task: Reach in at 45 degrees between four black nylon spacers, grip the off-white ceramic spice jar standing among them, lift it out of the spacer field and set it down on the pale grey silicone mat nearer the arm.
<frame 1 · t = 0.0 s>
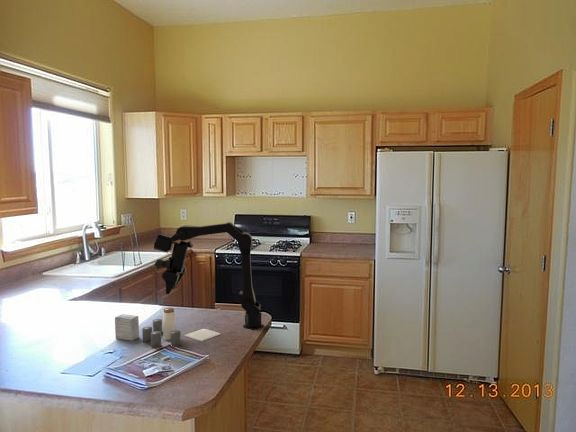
hand: (170, 291, 174), 15 cm above the counter, tool pointing down, fingers open, 9 cm apart
jar: (169, 338, 163), on the counter
spacer d: (175, 345, 156), on the counter
spacer b: (156, 345, 155), on the counter
mat: (202, 335, 166), on the counter
medicine box: (127, 338, 163), on the counter
spacer c: (157, 332, 169), on the counter
spacer a: (147, 340, 160), on the counter
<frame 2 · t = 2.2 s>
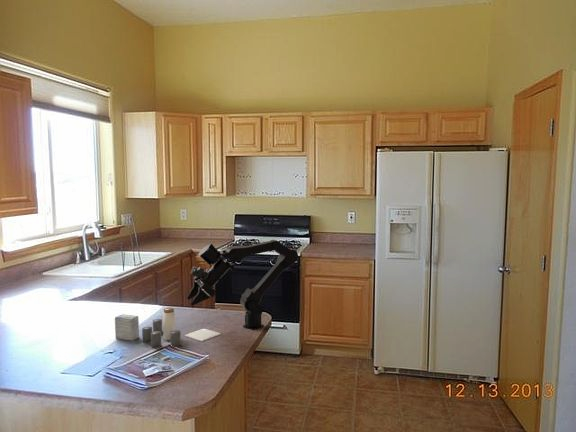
hand: (189, 301, 165), 13 cm above the counter, tool tilted 45°, fingers open, 9 cm apart
nothing on the counter moved.
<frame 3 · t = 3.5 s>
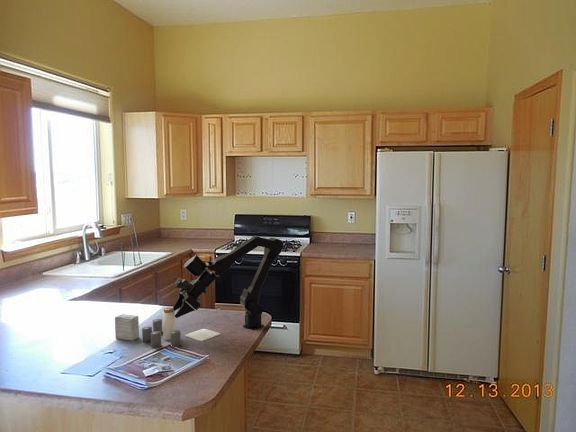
hand: (173, 313, 163), 9 cm above the counter, tool tilted 45°, fingers open, 9 cm apart
nothing on the counter moved.
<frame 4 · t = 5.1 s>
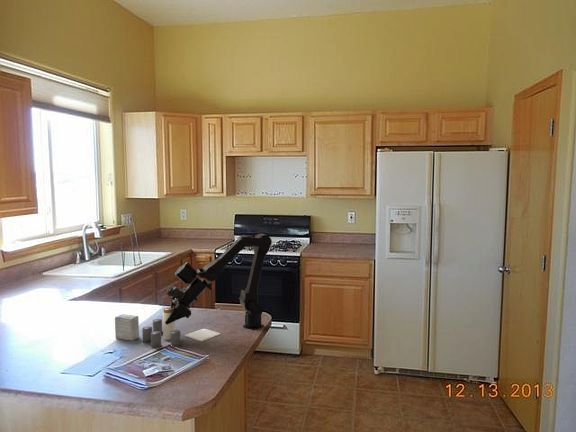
hand: (165, 321, 162), 7 cm above the counter, tool tilted 45°, fingers closed on jar, 4 cm apart
jar: (169, 337, 163), on the counter, touching gripper
everything else where it was.
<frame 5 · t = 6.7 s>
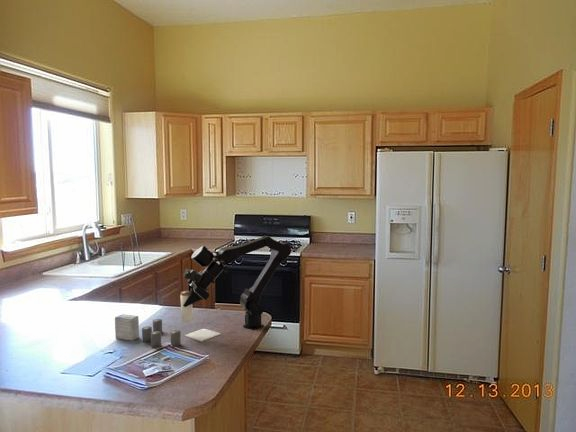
hand: (183, 304, 163), 13 cm above the counter, tool tilted 45°, fingers closed on jar, 4 cm apart
jar: (187, 320, 164), point 6 cm above the counter, touching gripper
everything else where it was.
when the fingers open (8 cm above the counter, at t = 8.5 s): jar drops 1 cm, resting on mat.
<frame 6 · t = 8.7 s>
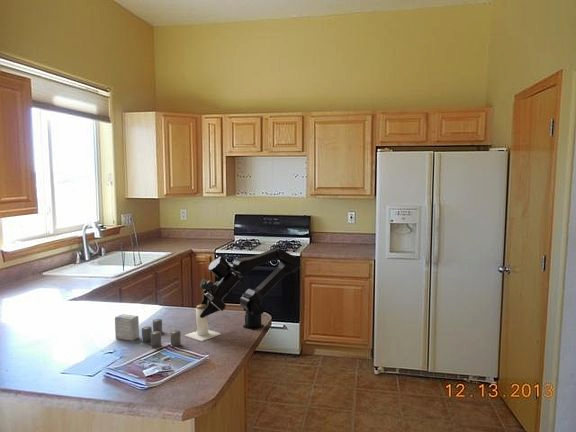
hand: (198, 314, 165), 8 cm above the counter, tool tilted 45°, fingers open, 7 cm apart
jar: (202, 333, 166), resting on mat
everything else where it was.
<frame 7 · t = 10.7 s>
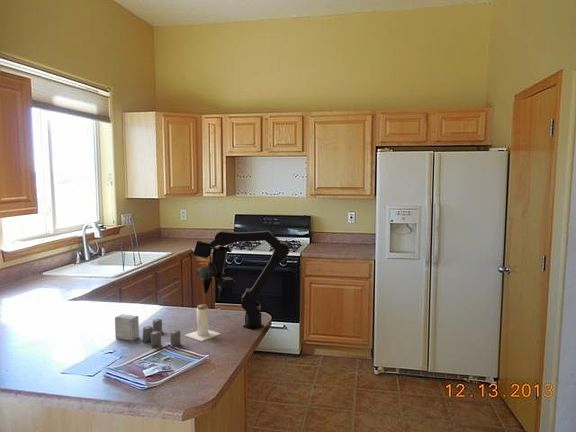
hand: (212, 296, 175), 13 cm above the counter, tool pointing down, fingers open, 9 cm apart
nothing on the counter moved.
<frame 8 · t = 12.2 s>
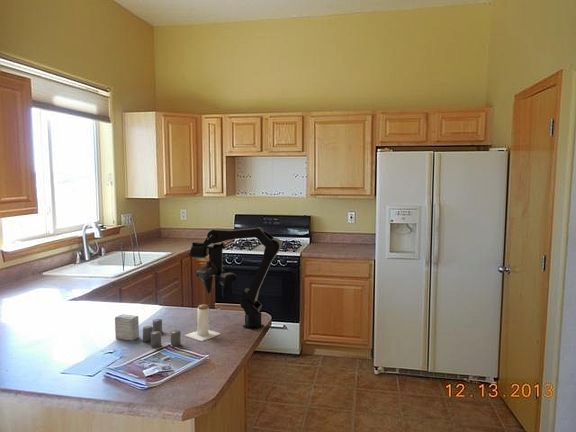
hand: (216, 294, 178), 13 cm above the counter, tool pointing down, fingers open, 9 cm apart
nothing on the counter moved.
at the end: jar inside the target area (0.1 cm from its centre), resting on mat; jar tilted 1°; jar moved 12.9 cm from its start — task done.
